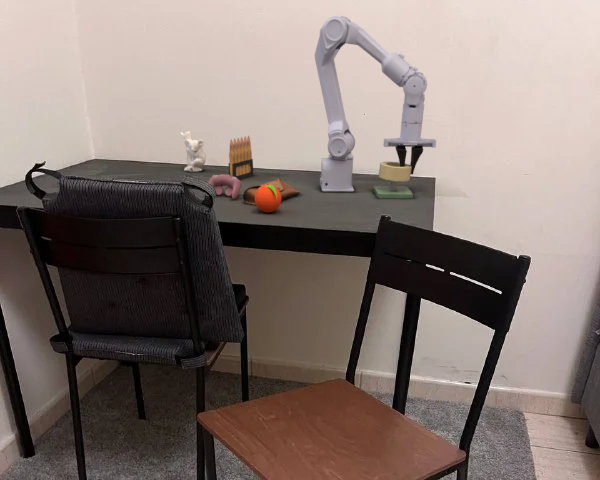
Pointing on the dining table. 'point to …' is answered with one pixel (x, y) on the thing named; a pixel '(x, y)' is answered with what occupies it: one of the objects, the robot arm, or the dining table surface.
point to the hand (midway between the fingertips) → (406, 173)
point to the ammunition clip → (240, 158)
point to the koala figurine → (194, 153)
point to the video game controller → (226, 180)
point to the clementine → (268, 198)
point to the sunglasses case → (284, 188)
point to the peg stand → (392, 191)
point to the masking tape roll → (394, 171)
